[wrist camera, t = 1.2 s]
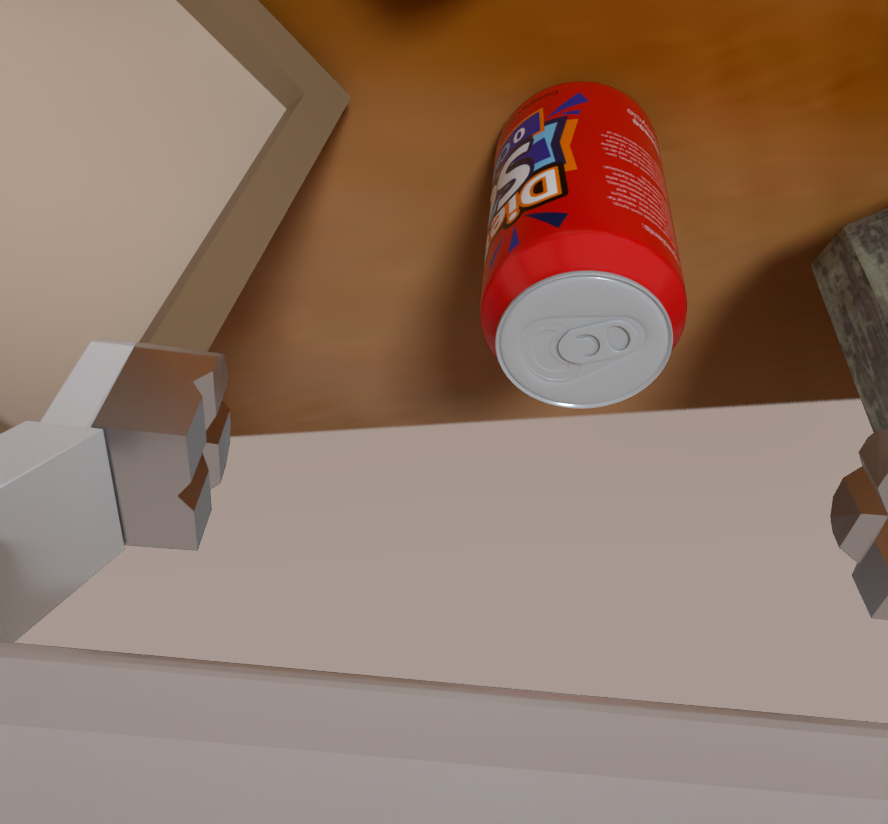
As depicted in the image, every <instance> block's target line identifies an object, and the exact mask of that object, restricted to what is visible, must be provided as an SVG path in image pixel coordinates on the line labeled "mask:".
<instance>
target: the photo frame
mask: <svg viewBox="0 0 888 824" xmlns="http://www.w3.org/2000/svg"><path fill="white" fill-rule="evenodd" d="M350 99H351V97H350V96H349V95H348V94H347V93H346V91H345V90H344V89H343V88H342V87H341V86H340V85H339V84H338V83H337V82H336V81H335V80H334V79H333V78H332V77H331V76H330V75H329V74H328V73H327V72H326V71H325V70H324V69H323V67H322V66H321V65H320V64H319V63H318V62H317V61H316V60H315V59H314V58H313V57H312V56H311V55H310V54H309V53H308V52H307V51H306V50H305V49H304V48H303V47H302V46H301V45H300V44H299V42H298V41H297V40H296V39H295V38H294V37H293V36H292V35H291V34H290V33H289V32H288V31H287V30H286V29H285V28H284V27H283V26H282V25H281V24H280V23H279V22H278V21H277V20H276V18H275V17H274V16H273V15H272V14H271V13H270V12H269V11H268V10H267V9H266V8H265V7H264V6H263V5H262V4H261V3H260V2H259V1H258V0H0V434H1V433H3V432H5V431H7V430H9V429H11V428H13V427H15V426H17V425H19V424H21V423H23V422H25V421H34V422H40V420H41V419H42V417H43V415H44V414H45V412H46V411H47V409H48V408H49V406H50V404H51V403H52V401H53V400H54V398H55V396H56V395H57V393H58V392H59V390H60V388H61V387H62V385H63V384H64V382H65V381H66V379H67V377H68V376H69V374H70V373H71V371H72V369H73V368H74V366H75V365H76V363H77V361H78V360H79V358H80V357H81V355H82V354H83V352H84V350H85V349H86V347H87V346H88V344H89V343H90V342H91V341H93V340H95V339H97V338H106V339H115V340H123V341H131V342H137V343H148V344H156V345H163V346H171V347H178V348H185V349H193V350H200V351H208V350H209V348H210V346H211V344H212V343H213V341H214V339H215V337H216V336H217V334H218V332H219V330H220V328H221V327H222V325H223V323H224V321H225V320H226V318H227V316H228V314H229V313H230V311H231V309H232V307H233V305H234V304H235V302H236V300H237V298H238V297H239V295H240V293H241V291H242V290H243V288H244V286H245V284H246V282H247V281H248V279H249V277H250V275H251V274H252V272H253V270H254V268H255V267H256V265H257V263H258V261H259V260H260V258H261V256H262V254H263V252H264V251H265V249H266V247H267V245H268V244H269V242H270V240H271V238H272V237H273V235H274V233H275V231H276V229H277V228H278V226H279V224H280V222H281V221H282V219H283V217H284V215H285V214H286V212H287V210H288V208H289V206H290V205H291V203H292V201H293V199H294V198H295V196H296V194H297V192H298V191H299V189H300V187H301V185H302V184H303V182H304V180H305V178H306V176H307V175H308V173H309V171H310V169H311V168H312V166H313V164H314V162H315V161H316V159H317V157H318V155H319V153H320V152H321V150H322V148H323V146H324V145H325V143H326V141H327V139H328V138H329V136H330V134H331V132H332V130H333V129H334V127H335V125H336V123H337V122H338V120H339V118H340V116H341V115H342V113H343V111H344V109H345V107H346V106H347V104H348V102H349V100H350Z"/></svg>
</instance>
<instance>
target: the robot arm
mask: <svg viewBox="0 0 888 824" xmlns="http://www.w3.org/2000/svg"><path fill="white" fill-rule="evenodd" d="M227 384H228V370H227V360H226V358H225V356H224V355H223V354H222V353H215V352H207V351H200V350H193V349H185V348H178V347H171V346H163V345H156V344H148V343H137V342H131V341H123V340H115V339H106V338H97V339H95V340H93V341H91V342H90V343H89V344H88V346H87V347H86V349H85V350H84V352H83V354H82V355H81V357H80V358H79V360H78V361H77V363H76V365H75V366H74V368H73V369H72V371H71V373H70V374H69V376H68V377H67V379H66V381H65V382H64V384H63V385H62V387H61V388H60V390H59V392H58V393H57V395H56V396H55V398H54V400H53V401H52V403H51V404H50V406H49V408H48V409H47V411H46V412H45V414H44V415H43V417H42V419H41V420H40V422H34V421H25V422H23V423H21V424H19V425H17V426H15V427H13V428H11V429H9V430H7V431H5V432H3V433H1V434H0V824H888V723H878V722H868V721H856V720H845V719H834V718H824V717H814V716H803V715H792V714H781V713H770V712H759V711H749V710H738V709H727V708H717V707H716V708H715V707H706V706H695V705H684V704H673V703H662V702H651V701H641V700H629V699H619V698H608V697H596V696H586V695H575V694H565V693H553V692H543V691H532V690H520V689H510V688H500V687H488V686H478V685H477V686H476V685H466V684H456V683H446V682H434V681H423V680H413V679H401V678H391V677H380V676H370V675H359V674H348V673H337V672H326V671H315V670H305V669H294V668H283V667H272V666H261V665H250V664H239V663H229V662H218V661H206V660H196V659H185V658H174V657H163V656H153V655H142V654H131V653H119V652H109V651H98V650H88V649H77V648H65V647H55V646H43V645H34V644H22V643H14V642H15V641H16V640H17V639H19V638H20V637H21V636H22V635H23V634H25V633H26V632H27V631H28V630H29V629H31V628H32V627H33V626H34V625H35V624H36V623H38V622H39V621H40V620H41V619H42V618H44V617H45V616H46V615H47V614H48V613H49V612H51V611H52V610H53V609H54V608H56V607H57V606H58V605H59V604H60V603H61V602H62V601H64V600H65V599H66V598H67V597H69V596H70V595H71V594H72V593H73V592H74V591H76V590H77V589H78V588H79V587H80V586H81V585H83V584H84V583H85V582H86V581H88V580H89V579H90V578H91V577H92V576H93V575H94V574H96V573H97V572H98V571H99V570H101V569H102V568H103V567H104V566H105V565H107V564H108V563H109V562H110V561H111V560H112V559H114V558H115V557H116V556H117V555H118V554H120V553H121V552H122V551H123V550H124V549H125V548H124V545H129V546H143V547H156V548H170V549H184V550H196V551H197V550H198V548H199V545H200V542H201V539H202V536H203V533H204V530H205V527H206V524H207V521H208V518H209V515H210V512H211V495H210V490H211V489H212V488H214V487H215V486H216V485H218V484H219V483H220V482H221V479H222V476H223V473H224V469H225V466H226V461H227V456H228V450H229V445H230V428H231V423H230V409H229V408H228V407H227V406H226V405H225V404H224V403H223V401H222V398H223V395H224V393H225V390H226V387H227ZM859 455H860V459H861V462H862V465H863V466H862V467H860V468H859V469H857V470H855V471H854V472H852V473H851V474H849V475H847V476H845V477H844V478H843V479H842V481H841V483H840V485H839V487H838V489H837V491H836V493H835V494H834V496H833V502H832V509H831V524H832V531H833V534H834V536H835V539H836V541H837V543H838V546H839V548H840V549H841V550H843V551H844V552H845V553H846V554H847V555H848V556H850V557H851V558H852V559H853V560H855V561H856V562H857V565H856V567H855V569H854V572H853V574H852V577H853V579H854V581H855V583H856V586H857V588H858V590H859V592H860V594H861V596H862V599H863V601H864V603H865V605H866V607H867V609H868V612H869V614H870V616H871V618H875V619H884V620H888V430H883V429H878V430H877V431H876V432H874V433H873V434H872V435H871V436H869V437H868V438H867V440H866V441H865V443H864V445H863V446H862V448H861V450H860V451H859Z"/></svg>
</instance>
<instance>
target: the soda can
mask: <svg viewBox="0 0 888 824" xmlns="http://www.w3.org/2000/svg"><path fill="white" fill-rule="evenodd" d="M686 312H687V298H686V291H685V284H684V279H683V274H682V268H681V263H680V258H679V252H678V247H677V242H676V237H675V231H674V226H673V221H672V215H671V210H670V205H669V199H668V194H667V189H666V183H665V178H664V173H663V167H662V162H661V157H660V151H659V146H658V142H657V138H656V134H655V131H654V128H653V126H652V124H651V122H650V120H649V118H648V116H647V115H646V113H645V112H644V111H643V109H642V108H641V107H640V106H639V105H638V104H637V103H636V102H635V101H634V100H633V99H632V98H630V97H629V96H628V95H626V94H625V93H623V92H621V91H619V90H617V89H615V88H613V87H610V86H607V85H604V84H600V83H595V82H583V81H581V82H568V83H563V84H559V85H555V86H552V87H549V88H547V89H545V90H542V91H540V92H538V93H537V94H535V95H533V96H532V97H530V98H529V99H528V100H526V101H525V102H524V103H523V104H522V105H520V106H519V107H518V108H517V110H516V111H515V112H514V113H513V114H512V115H511V117H510V118H509V120H508V121H507V123H506V124H505V126H504V128H503V130H502V133H501V135H500V138H499V141H498V144H497V148H496V153H495V160H494V170H493V180H492V190H491V200H490V210H489V220H488V230H487V240H486V250H485V260H484V270H483V280H482V290H481V301H480V321H481V327H482V331H483V335H484V338H485V340H486V343H487V345H488V347H489V348H490V350H491V352H492V353H493V355H494V356H495V357H496V358H497V360H498V361H499V364H500V366H501V368H502V370H503V372H504V373H505V375H506V376H507V377H508V379H509V380H510V381H511V382H512V383H513V384H514V385H515V386H516V387H518V388H519V389H520V390H521V391H523V392H524V393H526V394H527V395H529V396H531V397H533V398H535V399H537V400H540V401H542V402H545V403H548V404H551V405H555V406H560V407H567V408H594V407H601V406H606V405H610V404H614V403H617V402H620V401H623V400H625V399H627V398H629V397H631V396H633V395H635V394H637V393H639V392H640V391H642V390H643V389H645V388H646V387H647V386H648V385H650V384H651V383H652V382H653V381H654V380H655V379H656V378H657V377H658V376H659V374H660V373H661V372H662V370H663V369H664V367H665V366H666V364H667V362H668V359H669V357H670V354H671V351H672V350H673V349H674V347H675V346H676V344H677V342H678V340H679V338H680V336H681V334H682V331H683V328H684V325H685V320H686Z"/></svg>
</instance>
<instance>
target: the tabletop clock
mask: <svg viewBox="0 0 888 824" xmlns="http://www.w3.org/2000/svg"><path fill="white" fill-rule="evenodd" d="M810 265H811V268H812V271H813V273H814V276H815V279H816V282H817V284H818V287H819V290H820V292H821V295H822V298H823V300H824V303H825V306H826V308H827V311H828V314H829V316H830V319H831V322H832V324H833V327H834V330H835V332H836V335H837V338H838V340H839V343H840V346H841V348H842V351H843V353H844V356H845V359H846V361H847V364H848V367H849V369H850V372H851V375H852V377H853V380H854V383H855V385H856V388H857V390H858V393H859V396H860V398H861V401H862V403H863V406H864V409H865V411H866V414H867V416H868V419H869V421H870V424H871V427H872V429H873V432H876V431H877V430H878V429H883V430H888V208H886V209H884V210H881V211H879V212H876V213H874V214H872V215H869V216H867V217H864V218H862V219H859V220H857V221H855V222H852V223H850V224H847V225H845V226H843V227H842V228H841V229H840V230H839V231H838V233H837V234H836V235H835V236H834V237H833V238H832V240H831V241H830V242H829V243H828V244H827V245H826V247H825V248H824V249H823V250H822V251H821V252H820V254H819V255H818V256H817V257H816V258H815V259H814V261H813V262H812V263H811V264H810Z"/></svg>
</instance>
